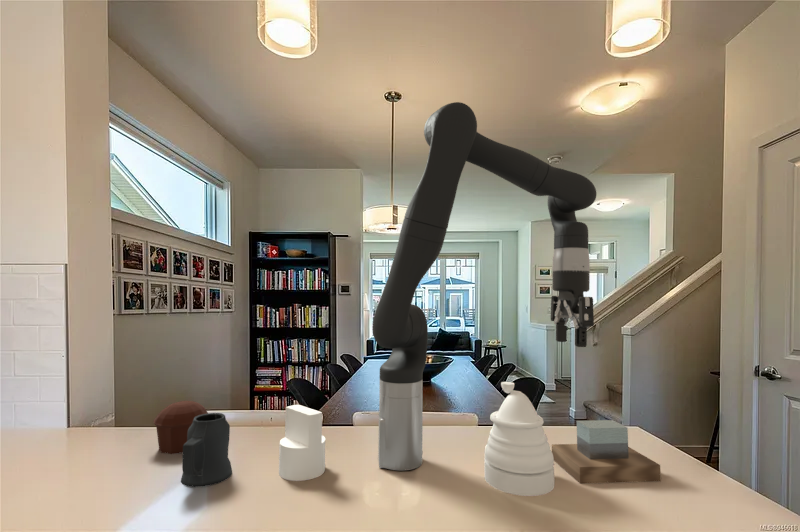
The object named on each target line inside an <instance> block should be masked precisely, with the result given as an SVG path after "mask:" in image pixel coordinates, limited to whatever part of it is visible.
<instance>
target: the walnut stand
mask: <svg viewBox="0 0 800 532" xmlns="http://www.w3.org/2000/svg"><path fill="white" fill-rule="evenodd" d="M551 452H552V454H553V458H554V461H553V462H555V463H556V464H558V466H560V468H562V469H563V470H564V471H565V472H567V473H568V475H570V476H571V477H572V478H573V479H574V480H575V481H577V482H578V483H579V484H610V483H611V484H612V483H638V482H639V483H646V482H647V483H648V482H662V477H661V475H662V473H661V472H662V471H661V464H660V463H658V462H656V461H655V460H652V459H650V458H649V457H647V456H646V455H643V454H642V453H640V452H639V451H637V450H635V449H633V448H632V447H630V446H628V454H629V458H628V459H589V458H587V457H586V456H585V455H583V454H582V453H581V452H579V451H578V450H577V443H565V444H561V443H560V444H559V443H558V444H557V443H555V444H551Z"/></svg>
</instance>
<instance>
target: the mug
mask: <svg viewBox="0 0 800 532" xmlns="http://www.w3.org/2000/svg"><path fill="white" fill-rule="evenodd" d="M230 426H231V425H230V424H229V422H228V421H227V419H226V414H224V413H221V412H209V413H207V414H202V415H198V416H196V417H195V418H194V419H193V423H192V424H191V426H190V427H189V429H188V433H187V442H186V443H185V444H184V445H183V453H182V457H181V458H182V459H181V460H182V461H181V463H182V464H181V465H182V466H181V468H182V474H181V478H180V483H181V484H182V485H183V486H186V487H191V488H200V487H201V488H203V487H209V486H213V485H216V484H220V483H222V482H224V481H227V480H228V479H229V478H230V477H232V475H233V469H232V464H231V460H230V458H229V444H230V433H231V431H230V430H231V429H230V428H231V427H230Z"/></svg>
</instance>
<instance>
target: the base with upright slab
mask: <svg viewBox="0 0 800 532" xmlns="http://www.w3.org/2000/svg"><path fill="white" fill-rule="evenodd" d="M284 418H285V422H284V423H285V424H284V425H285V426H284V428H285V429H284V437H282V438H281V439H280V440H279V450H278V451H279V452H278V453H279V454H278V456H279V457H278V476H279V477H280V478H281V479H284V480H286V481H291V482H300V481H301V482H303V481H307V480H308V481H309V480H311V479H312V480H313V479H315V478H318V477H320V476H322V475H323V474H324V472H325V471H326V437H325V436H324V435H323V434H322V433H323V412H322V411H319V410H316V409H314V408H310V407H307V406H304V405H301V404H292V405H289V406H286V407H285V417H284Z"/></svg>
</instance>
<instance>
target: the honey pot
mask: <svg viewBox="0 0 800 532" xmlns="http://www.w3.org/2000/svg"><path fill="white" fill-rule="evenodd" d="M500 386H501V388H502V391H503V392H504V393H506V394H508V395H507V396H506V397H505V398H504V400H503V402H502V403H501V405H500V407H499V408H498V410H496V411H494V412H492V413H491V414H490V417H489V419H490V421H491V422H493V425H492V428H491V429H490V430H489V436H488V438H487V442H486V445H485V446H484V456H483V457H484V460H483V462H484V463H483V466H484V467H483V468H484V469H483V470H484V471H483V472H484V480H485V482H486V484H487V483H488V485H489V486H490V487H492V488H494V489H496V490H497V491H501V492H503V493H505V494H510V495H514V496H520V497H521V496H522V497H524V496H525V497H535V496H536V497H537V496H544V495H546V494H550V492H551V491H553V490H554V488H555V466H554V465H555V464H554V462H555V461H554V458H553V454H552V449H551V446H550V443H549V442H548V435H547V434H546V433H545V430H544V427H543V424H544V418H543V417H541V416H540V415H539V414H538V413H537V411H536V408H535V407H534V404H533V403H532V402H531V400H530V399H529V397H528V396H527V395H526V394H525V393H523V392H522V391H520V390H514V388H515V383H514V382H512V381H501V382H500Z"/></svg>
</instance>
